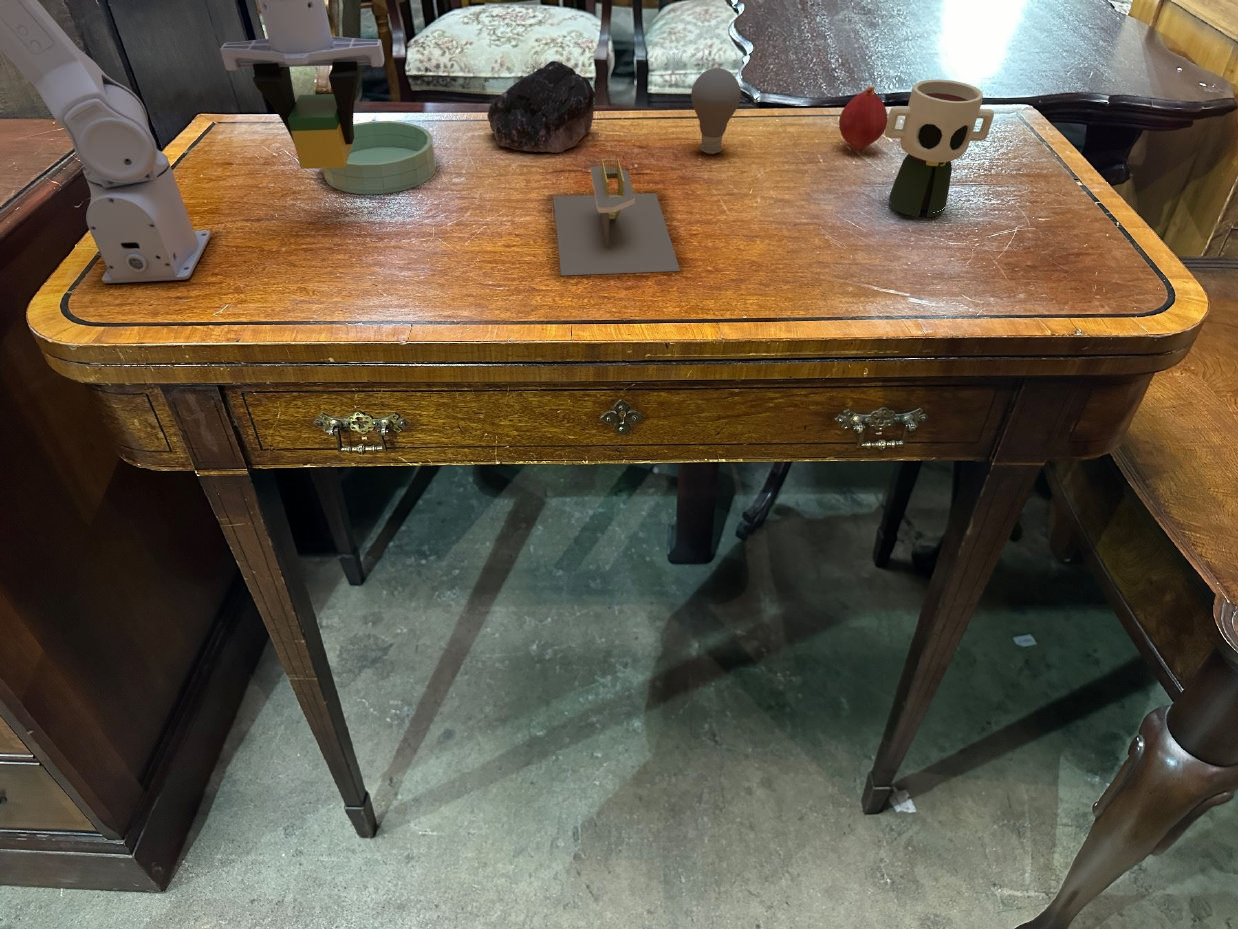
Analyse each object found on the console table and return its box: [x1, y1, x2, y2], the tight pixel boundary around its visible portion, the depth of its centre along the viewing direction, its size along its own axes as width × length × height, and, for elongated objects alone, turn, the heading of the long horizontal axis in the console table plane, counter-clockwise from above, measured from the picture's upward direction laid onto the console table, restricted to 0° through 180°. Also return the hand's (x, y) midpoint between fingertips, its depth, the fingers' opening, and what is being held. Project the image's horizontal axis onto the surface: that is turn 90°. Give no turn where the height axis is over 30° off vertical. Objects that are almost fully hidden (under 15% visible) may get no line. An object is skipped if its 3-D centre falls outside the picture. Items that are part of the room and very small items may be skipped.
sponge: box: [288, 93, 353, 170], centre depth 83 cm, size 6×4×5 cm
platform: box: [552, 158, 681, 276], centre depth 86 cm, size 12×18×7 cm, turn 6°
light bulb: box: [690, 67, 742, 155], centre depth 101 cm, size 6×6×10 cm
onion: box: [838, 85, 888, 152], centre depth 103 cm, size 6×6×8 cm
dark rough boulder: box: [486, 60, 595, 153], centre depth 104 cm, size 13×14×10 cm
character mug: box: [884, 79, 995, 218], centre depth 89 cm, size 11×7×13 cm, turn 87°
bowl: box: [320, 120, 437, 195], centre depth 97 cm, size 13×13×4 cm
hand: (324, 141), depth 83 cm, fingers closed on sponge, 4 cm apart
